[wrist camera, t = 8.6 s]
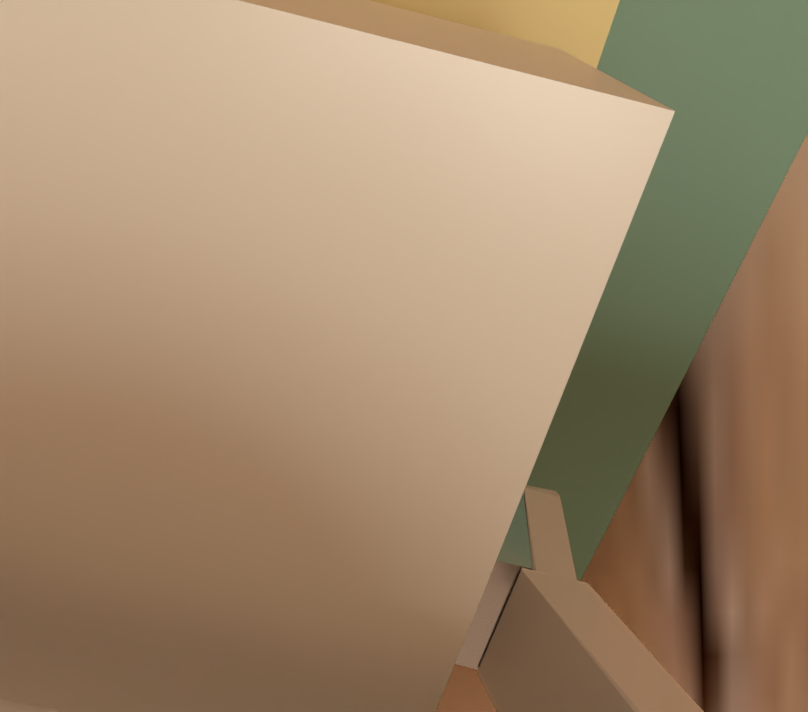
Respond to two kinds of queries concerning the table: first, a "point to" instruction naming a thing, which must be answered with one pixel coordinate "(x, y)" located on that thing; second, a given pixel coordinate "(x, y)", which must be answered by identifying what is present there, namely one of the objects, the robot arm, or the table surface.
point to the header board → (661, 209)
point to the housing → (282, 338)
